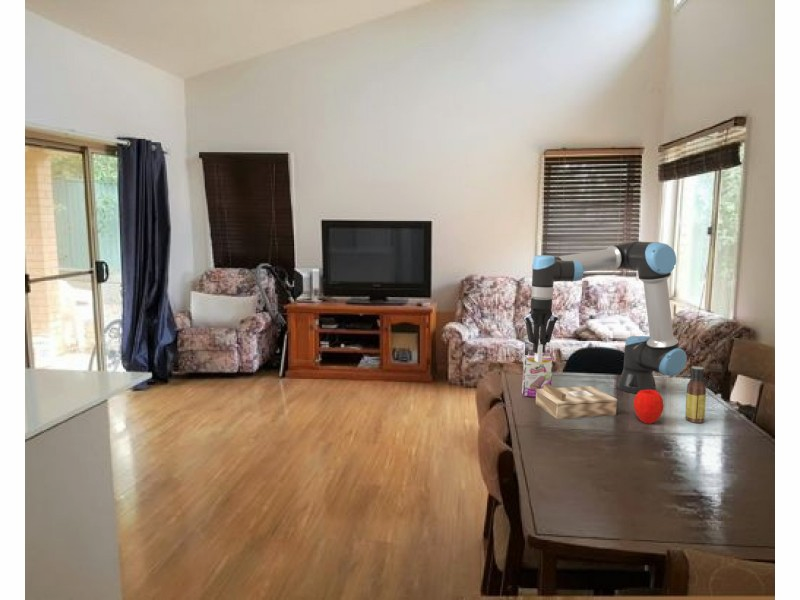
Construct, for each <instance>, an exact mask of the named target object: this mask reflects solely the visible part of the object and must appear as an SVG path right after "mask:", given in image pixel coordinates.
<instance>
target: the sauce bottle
mask: <svg viewBox="0 0 800 600" xmlns="http://www.w3.org/2000/svg"><path fill="white" fill-rule="evenodd" d="M704 370H705V368H704V367H702V366H696V365H695V366H691V368H690V372H691V376H690V380H689V381H688V383H687V384H686V385H687V386H686V395H685V397H686V398H685V399H686V400H685V401H686V402H685V415H684V416H685V420H686V421H688V422H689V421H690V423H694V424H701V423H704V421H705V417H706V415H705V414H706V401H707V400H706V398H707V397H706V396H707V393H706V392H707V386H706V384H705V382H704V378H703V377H704V372H705V371H704Z"/></svg>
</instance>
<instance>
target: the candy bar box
mask: <svg viewBox="0 0 800 600" xmlns="http://www.w3.org/2000/svg"><path fill="white" fill-rule="evenodd" d="M534 360H535V355H528V354H527V355H526V354H525V355H524V356H523V365H522V366H523V369H522V371H523V372H522V384H521V394H522V397H523V398H526V397H527V398H536V392H537V391H536V389H543V387H544V384H549V385H551V386H552V379H553V366H554V359H553V358H552V356H546V355H545V356H543V355H542V362H536V361H534Z"/></svg>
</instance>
